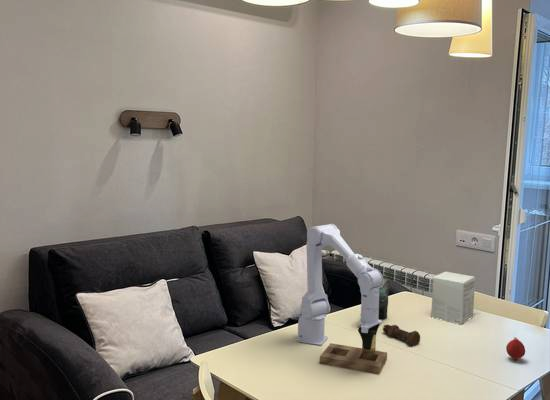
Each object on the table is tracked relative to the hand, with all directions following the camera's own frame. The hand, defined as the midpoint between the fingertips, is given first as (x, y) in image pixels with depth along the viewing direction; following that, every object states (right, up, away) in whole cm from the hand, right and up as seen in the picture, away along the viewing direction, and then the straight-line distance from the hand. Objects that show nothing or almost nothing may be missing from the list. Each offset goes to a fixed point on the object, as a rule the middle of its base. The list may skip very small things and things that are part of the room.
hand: (368, 346), depth 172 cm
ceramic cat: (+10, -2, +39) cm, 40 cm away
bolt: (+16, -4, +22) cm, 28 cm away
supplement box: (+43, -1, +46) cm, 63 cm away
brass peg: (0, -2, 0) cm, 2 cm away
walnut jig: (-5, -6, +3) cm, 8 cm away
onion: (+50, -6, +4) cm, 51 cm away
